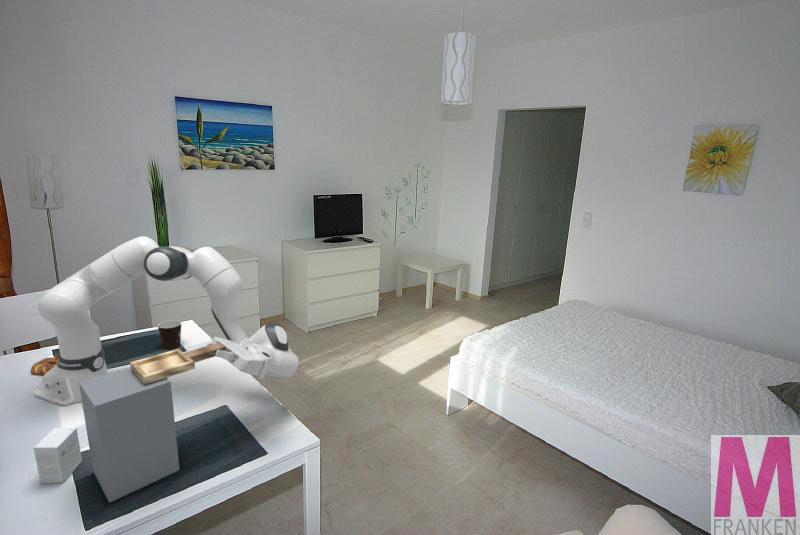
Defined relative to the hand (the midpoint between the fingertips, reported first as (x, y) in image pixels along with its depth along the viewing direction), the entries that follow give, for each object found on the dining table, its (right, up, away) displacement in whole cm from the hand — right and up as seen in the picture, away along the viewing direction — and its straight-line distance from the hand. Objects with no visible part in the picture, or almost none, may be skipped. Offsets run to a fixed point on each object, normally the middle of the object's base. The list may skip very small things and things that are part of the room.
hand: (211, 349), depth 123 cm
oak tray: (-5, -3, -5) cm, 8 cm away
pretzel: (-75, -15, +39) cm, 86 cm away
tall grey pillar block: (-16, -30, -8) cm, 35 cm away
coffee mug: (-42, -10, +62) cm, 76 cm away
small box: (-34, -30, -9) cm, 47 cm away
